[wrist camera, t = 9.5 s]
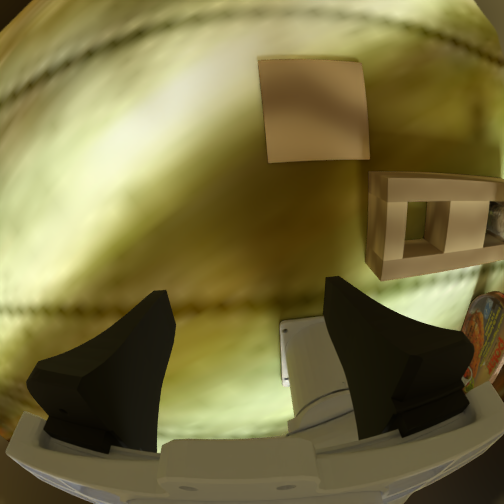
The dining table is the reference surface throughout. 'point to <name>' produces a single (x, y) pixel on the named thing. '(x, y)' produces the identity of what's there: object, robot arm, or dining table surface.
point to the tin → (484, 339)
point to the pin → (496, 218)
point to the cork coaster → (314, 110)
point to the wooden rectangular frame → (430, 223)
